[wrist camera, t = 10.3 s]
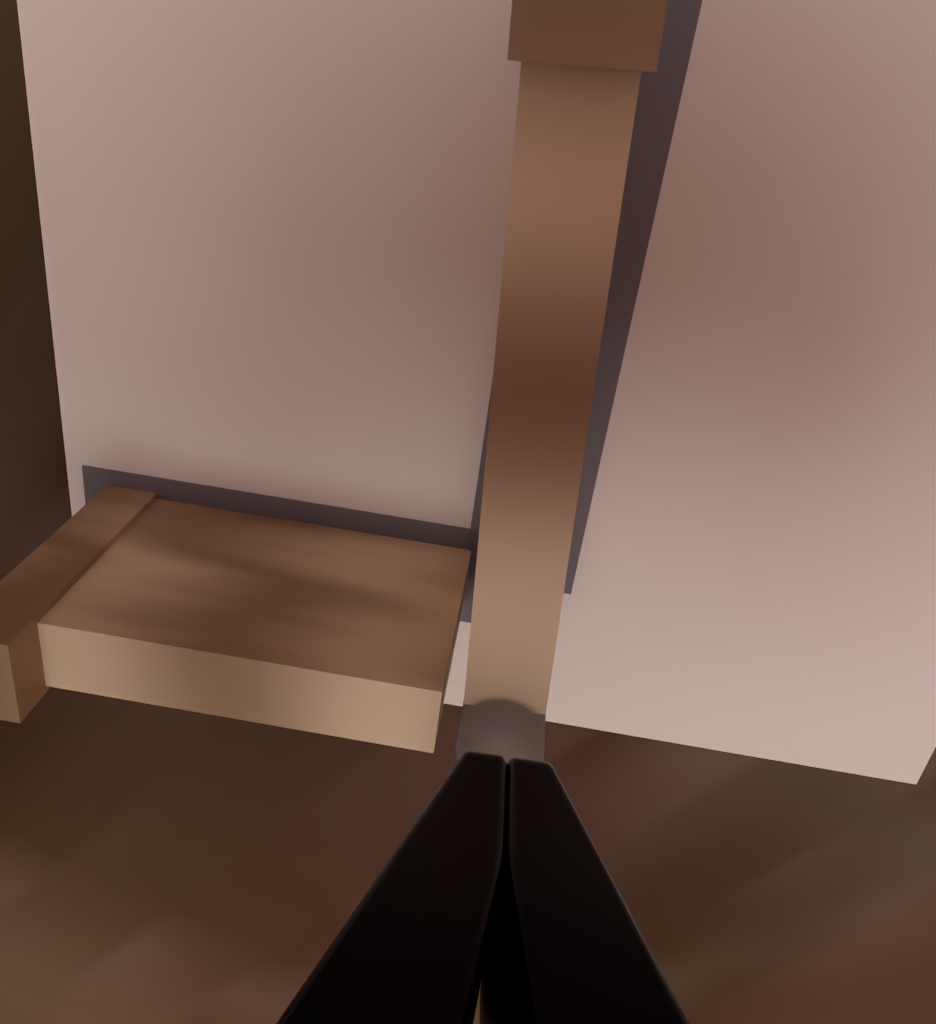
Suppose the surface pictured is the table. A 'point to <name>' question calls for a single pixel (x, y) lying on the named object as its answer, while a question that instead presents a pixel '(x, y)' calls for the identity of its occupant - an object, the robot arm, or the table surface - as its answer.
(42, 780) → the table surface
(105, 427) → the board
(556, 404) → the brown tall flat block
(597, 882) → the robot arm
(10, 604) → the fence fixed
